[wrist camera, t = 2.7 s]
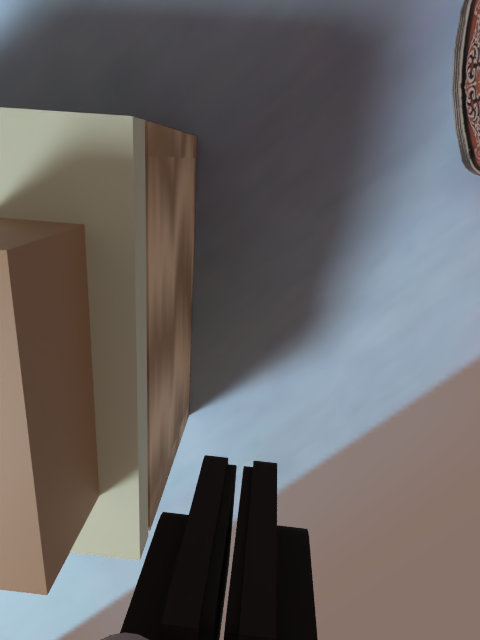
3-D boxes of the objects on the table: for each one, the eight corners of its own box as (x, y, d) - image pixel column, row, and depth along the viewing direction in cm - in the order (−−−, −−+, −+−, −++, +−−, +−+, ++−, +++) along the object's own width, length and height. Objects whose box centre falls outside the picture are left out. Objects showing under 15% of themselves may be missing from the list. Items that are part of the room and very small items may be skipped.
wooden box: (-76, 117, 22) (-288, 91, 14) (197, 136, 22) (147, 120, 13) (-30, 394, 28) (-163, 495, 19) (188, 415, 27) (150, 530, 19)
